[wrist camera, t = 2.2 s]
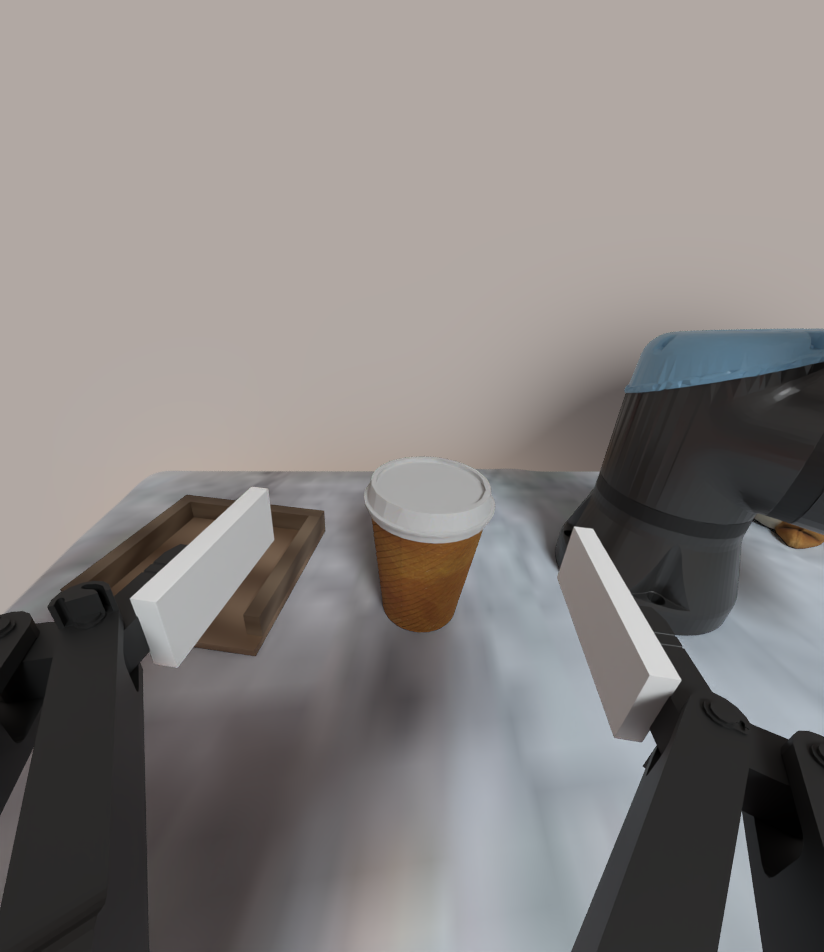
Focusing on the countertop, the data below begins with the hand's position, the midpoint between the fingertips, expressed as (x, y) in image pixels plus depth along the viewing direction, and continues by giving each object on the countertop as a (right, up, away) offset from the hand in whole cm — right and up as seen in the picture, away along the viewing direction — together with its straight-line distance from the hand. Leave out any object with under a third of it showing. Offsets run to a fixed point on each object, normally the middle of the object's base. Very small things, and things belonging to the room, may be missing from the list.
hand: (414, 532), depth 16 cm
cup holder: (-18, -6, +18) cm, 26 cm away
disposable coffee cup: (+1, -9, +16) cm, 18 cm away
